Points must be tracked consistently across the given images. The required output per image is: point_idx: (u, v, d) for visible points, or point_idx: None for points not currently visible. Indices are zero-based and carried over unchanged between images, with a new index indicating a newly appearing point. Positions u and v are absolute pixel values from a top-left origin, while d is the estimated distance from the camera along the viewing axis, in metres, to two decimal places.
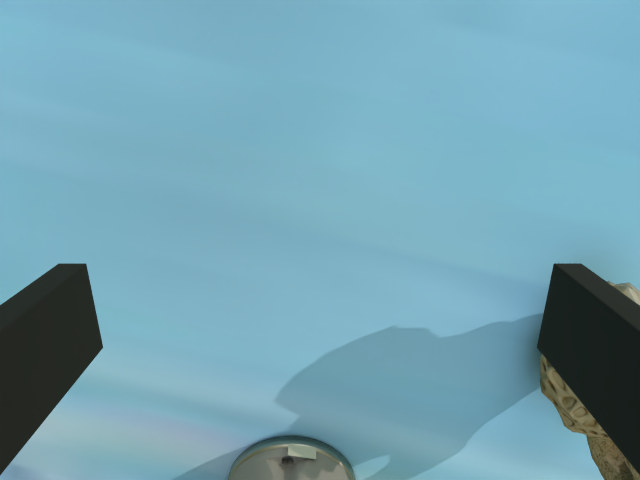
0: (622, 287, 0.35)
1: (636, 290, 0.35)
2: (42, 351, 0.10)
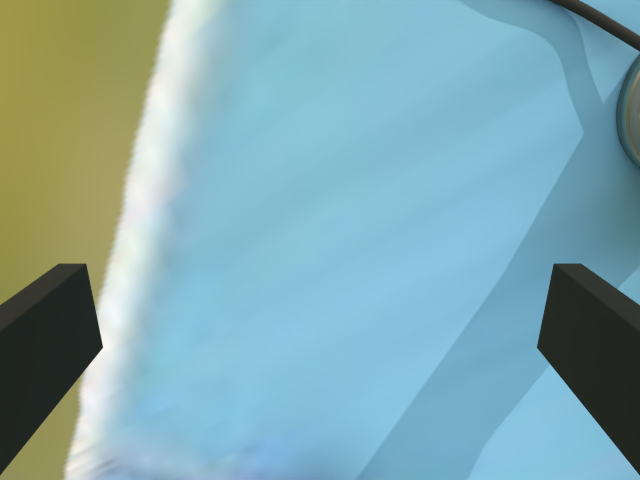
0: None
1: None
2: (42, 351, 0.10)
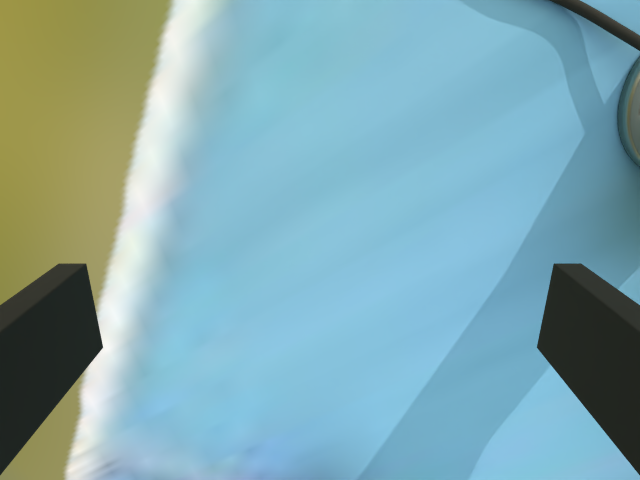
0: None
1: None
2: (42, 351, 0.10)
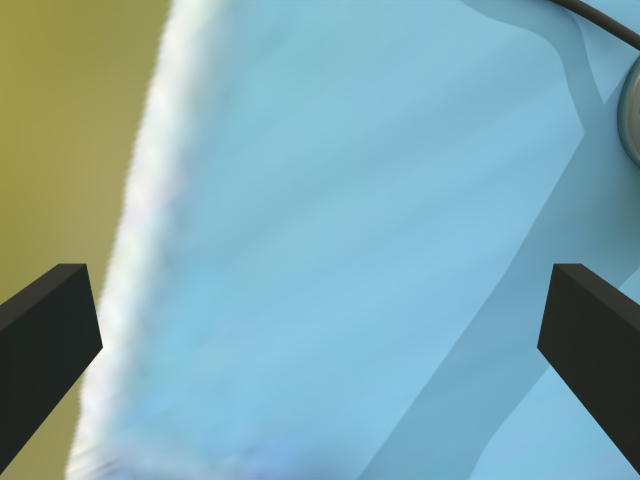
0: None
1: None
2: (42, 351, 0.10)
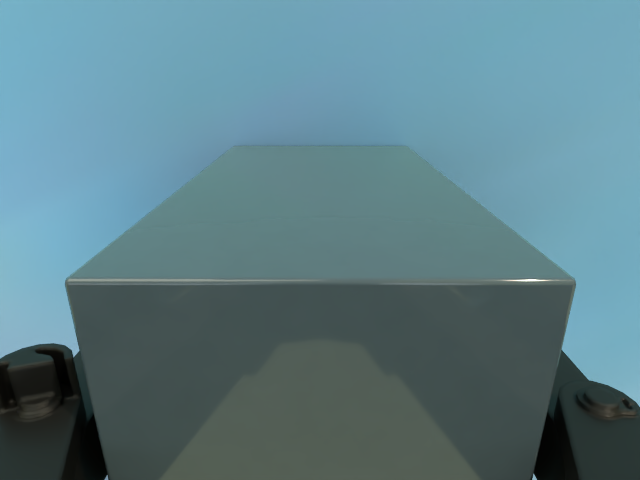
0: None
1: None
2: None
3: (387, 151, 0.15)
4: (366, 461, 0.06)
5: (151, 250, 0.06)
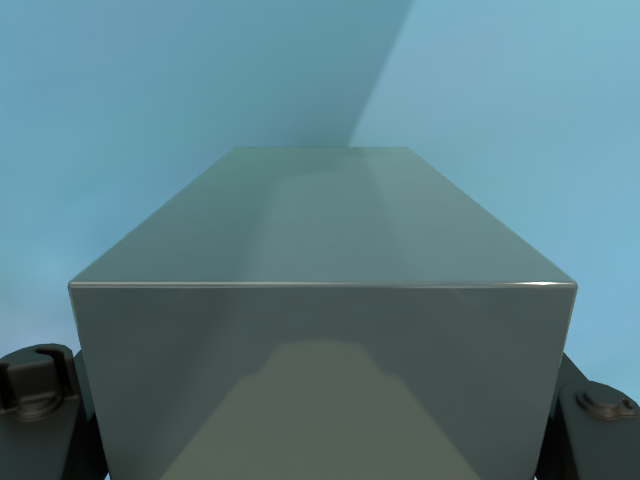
0: None
1: None
2: None
3: (388, 152, 0.15)
4: (368, 463, 0.06)
5: (153, 253, 0.06)
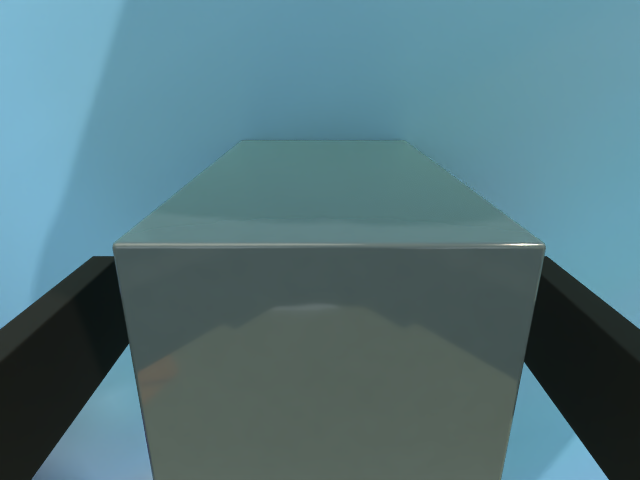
0: None
1: None
2: (83, 338, 0.11)
3: (386, 145, 0.16)
4: (368, 406, 0.07)
5: (181, 222, 0.07)
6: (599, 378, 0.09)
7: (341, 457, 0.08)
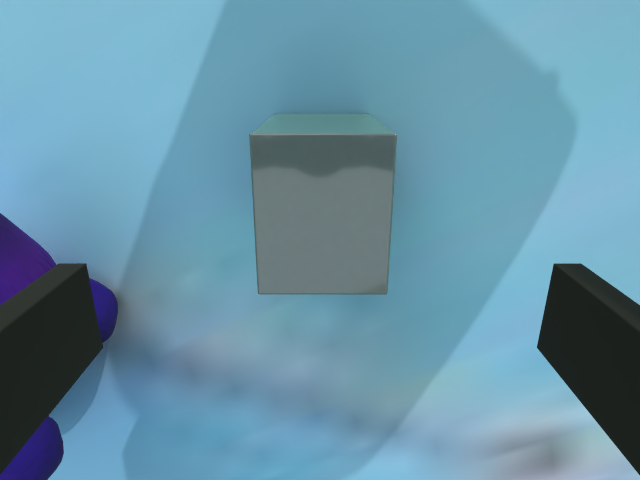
0: None
1: None
2: (42, 351, 0.10)
3: (357, 115, 0.29)
4: (337, 199, 0.20)
5: (269, 131, 0.20)
6: None
7: (328, 223, 0.21)
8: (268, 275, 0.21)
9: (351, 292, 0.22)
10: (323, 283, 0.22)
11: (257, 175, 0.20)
